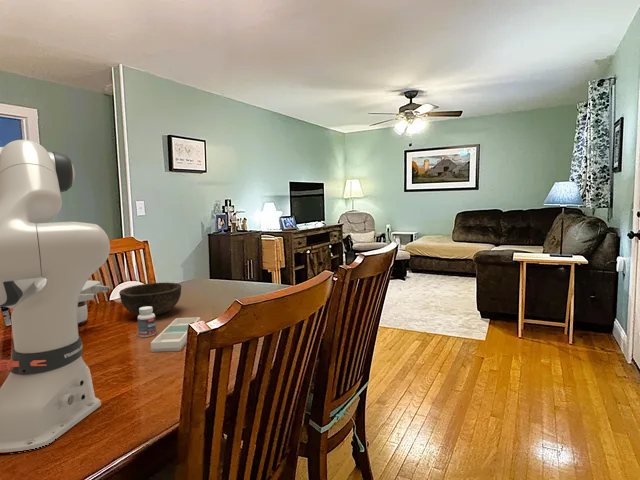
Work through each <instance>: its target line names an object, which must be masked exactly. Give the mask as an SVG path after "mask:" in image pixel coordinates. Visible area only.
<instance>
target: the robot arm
mask: <svg viewBox="0 0 640 480" xmlns="http://www.w3.org/2000/svg"><path fill="white" fill-rule="evenodd" d="M75 177H76V171H75V168H74V165H73V162H72V159H70V158H69V156H68V155H67V154H64V153H60V152H55V151H52V152H51V151H47V149H46V148H45V147H44V146H42V145H41V144H40V143H39V142H36V141H32V140H30V139H29V140H28V139H17V140H12V141H11V142H8V143H7V144H5V146H0V308H2V307H3V308H9V309H12V312H11V315H10V321H11V329H12V338H13V340H12V341H13V346H14V348H13V349H12V351H11V356H10V359H1V360H0V371H9V374H8V376H7V377H6V379H5V381H4V382H3V384H2V385H1V386H0V452H13V451H23V450H29V449H34V450H36V449H35V448H37V449H40V448H39V447H41V448H43V447H42V446H44V447H46V446H45V445H47V446H48V445H50V444H51V443H52V442H54V441H56V440H57V439H58V438H59V437H61V436H62V435H64V434H65V433H66V432H68V431H69V430H71V429H72V428H73V427H75V425H77V424H78V423H80V422H81V421H82V420H84V419H85V418H86V417H87V416H89V415H90V414H92V413H93V412H94V411H96V410H97V409H98V408H100V407H101V405H102V401H101V399H100V398H98V397H96V394H95V391H94V390H95V389H94V385H93V379H92V374H91V370H90V367H89V366H88V365H87V364H86V362H85V361H84V359H83V357H82V355H83V353H84V351H83V348H84V345H83V341H82V337H81V336H79V326H78V319H77V311H78V302H81V301H86V302H87V301H92V300H95V299H96V295H97V294H98V293H109V292H110V291H111V287H110V286H109V285H102V283H101V281H98V280H91V279H90V278H91V277H92V275H93V274H94V273H95V272H96V271H98V270H99V269H100V268H101V267H102V266H103V265H104V264H105V263H106V261H107V260H108V259H109V256H110V251H111V244H110V239H109V236H108V234H107V233H106V232H105V230H104V229H103V228H102V227H101V226H100V225H98V224H96V223H90V222H80V221H57V222H51V221H53V220H54V219H55V217H57V216H58V215H59V213H60V212H61V209H62V208H63V207H62V206H63V200H62V194H61V193H63V192H68V190H70V189H71V188H72V186H73V183H74V181H75V179H76V178H75ZM89 279H90V280H89ZM55 439H56V440H55ZM49 443H50V444H49ZM29 451H30V450H29Z"/></svg>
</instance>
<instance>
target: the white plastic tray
mask: <svg viewBox="0 0 640 480" xmlns="http://www.w3.org/2000/svg"><path fill="white" fill-rule="evenodd" d="M197 321H201V317H200V316H198V317H196V316H195V317H179V318H178V317H177V318H175V319H173V321H171V323H169V324H168V326H166V327H165V328H164V329H163V330H162V331H161V332H160V333H159V334H158V335H157V336H156V337H155V338H154V339H153V340H152V341H151V342H150V352H151V353H159V352H160V353H162V352H165V353H166V352H180V351H182V349H183V348H184V347H185V346H186V345H187V343H186V338H187V328H188V324H190V323H192V322H197ZM184 345H185V346H184Z"/></svg>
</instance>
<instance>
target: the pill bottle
mask: <svg viewBox="0 0 640 480" xmlns="http://www.w3.org/2000/svg"><path fill="white" fill-rule="evenodd" d="M152 312H153V308H152V307H151V306H146V307H141V308H139V313H140V315H137V330H138V336H139V337H140V338H149V337H150V338H151V337H152V336H155V335H156V334H157V326H156V324H157V323H156V315H155V314H154V313H152Z"/></svg>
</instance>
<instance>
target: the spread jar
mask: <svg viewBox="0 0 640 480" xmlns="http://www.w3.org/2000/svg"><path fill="white" fill-rule="evenodd" d="M88 315H89V314H88V304H87V300H86V301H81V302H78V311H77V319H78V327H80V326H82V325H83V324H85V323H86V321H87V319H88Z"/></svg>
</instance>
